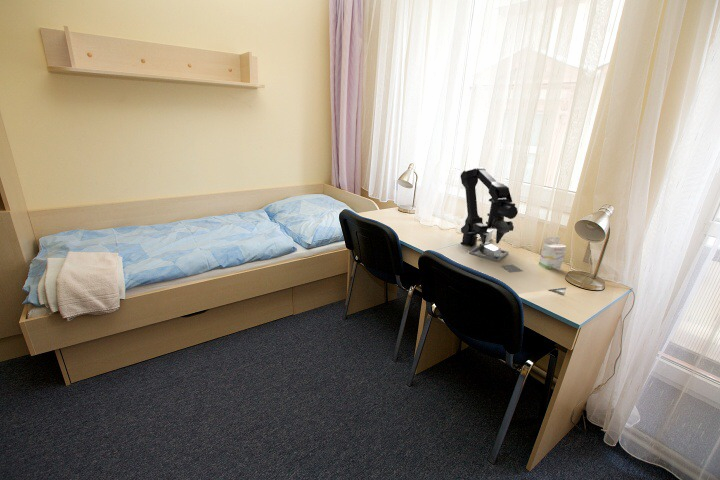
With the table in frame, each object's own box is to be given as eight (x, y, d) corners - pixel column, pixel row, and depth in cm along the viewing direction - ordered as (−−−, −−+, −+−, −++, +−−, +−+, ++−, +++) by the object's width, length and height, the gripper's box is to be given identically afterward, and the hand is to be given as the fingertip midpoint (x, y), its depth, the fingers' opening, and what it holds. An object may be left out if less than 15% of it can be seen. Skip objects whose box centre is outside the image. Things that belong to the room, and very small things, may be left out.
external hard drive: (539, 289, 136) (546, 278, 145) (562, 296, 131) (568, 285, 140) (540, 285, 135) (547, 275, 144) (563, 292, 130) (569, 281, 139)
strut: (479, 244, 165) (492, 250, 156) (487, 241, 166) (501, 247, 157) (480, 253, 167) (493, 259, 158) (488, 250, 168) (501, 256, 159)
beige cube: (491, 239, 189) (493, 229, 186) (487, 242, 184) (489, 231, 182) (480, 236, 192) (482, 226, 190) (476, 239, 187) (478, 229, 185)
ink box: (545, 271, 150) (553, 241, 145) (537, 267, 155) (544, 237, 149) (561, 270, 152) (569, 239, 147) (552, 265, 157) (560, 236, 152)
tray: (468, 256, 164) (469, 251, 163) (479, 248, 174) (480, 244, 173) (497, 264, 156) (498, 259, 155) (507, 256, 166) (508, 251, 165)
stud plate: (498, 268, 151) (499, 265, 151) (512, 267, 153) (512, 264, 153) (509, 275, 145) (509, 272, 145) (522, 274, 147) (523, 271, 146)
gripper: (489, 218, 147) (483, 251, 153) (524, 216, 152) (517, 248, 158) (474, 211, 157) (469, 242, 163) (508, 210, 162) (502, 240, 168)
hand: (490, 243), depth 163 cm, fingers open, 7 cm apart
